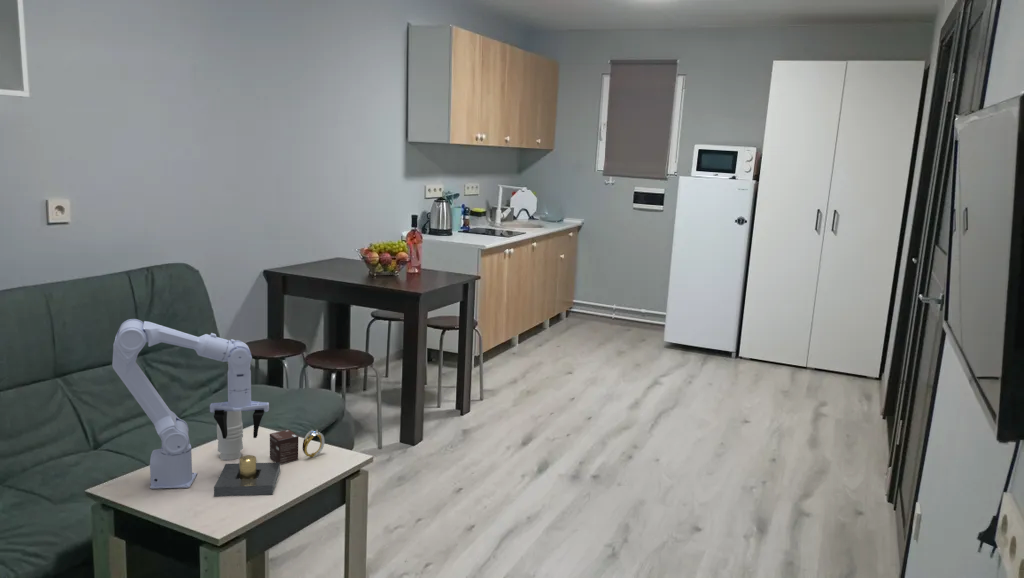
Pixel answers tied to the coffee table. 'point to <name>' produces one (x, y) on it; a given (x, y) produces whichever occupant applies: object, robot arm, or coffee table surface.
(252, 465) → the brass shaft
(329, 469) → the coffee table surface
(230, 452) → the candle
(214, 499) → the coffee table surface
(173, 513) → the coffee table surface
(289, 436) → the box
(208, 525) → the coffee table surface
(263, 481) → the block
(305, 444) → the ring
